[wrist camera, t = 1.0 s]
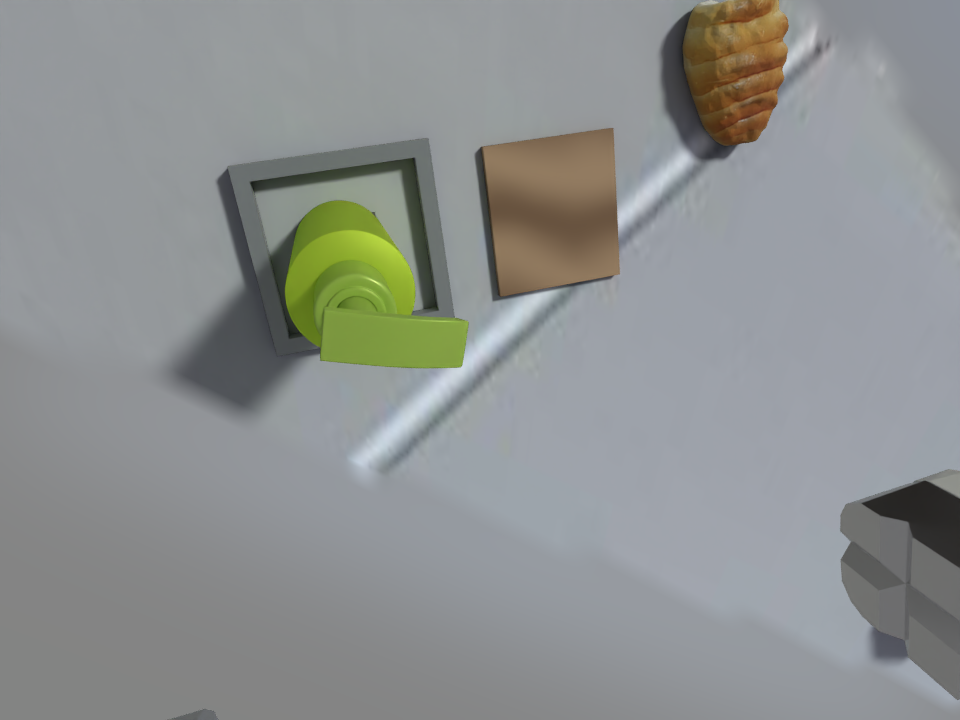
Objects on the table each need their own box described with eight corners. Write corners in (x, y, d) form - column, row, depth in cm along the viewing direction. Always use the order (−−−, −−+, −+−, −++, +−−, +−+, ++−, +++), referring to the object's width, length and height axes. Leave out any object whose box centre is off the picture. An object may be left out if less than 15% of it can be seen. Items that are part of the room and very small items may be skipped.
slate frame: (229, 165, 38) (227, 166, 37) (425, 138, 40) (428, 138, 39) (277, 351, 42) (277, 356, 41) (452, 317, 44) (455, 321, 43)
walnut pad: (481, 146, 41) (482, 147, 40) (610, 128, 42) (613, 128, 42) (498, 295, 45) (500, 296, 44) (616, 272, 46) (619, 274, 46)
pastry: (772, 131, 46) (809, 131, 42) (687, 156, 45) (718, 159, 41) (762, -15, 42) (802, -28, 38) (670, 11, 41) (702, 0, 38)
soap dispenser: (397, 296, 43) (457, 420, 25) (291, 286, 41) (271, 411, 23) (407, 209, 41) (480, 271, 23) (297, 194, 39) (280, 249, 21)
